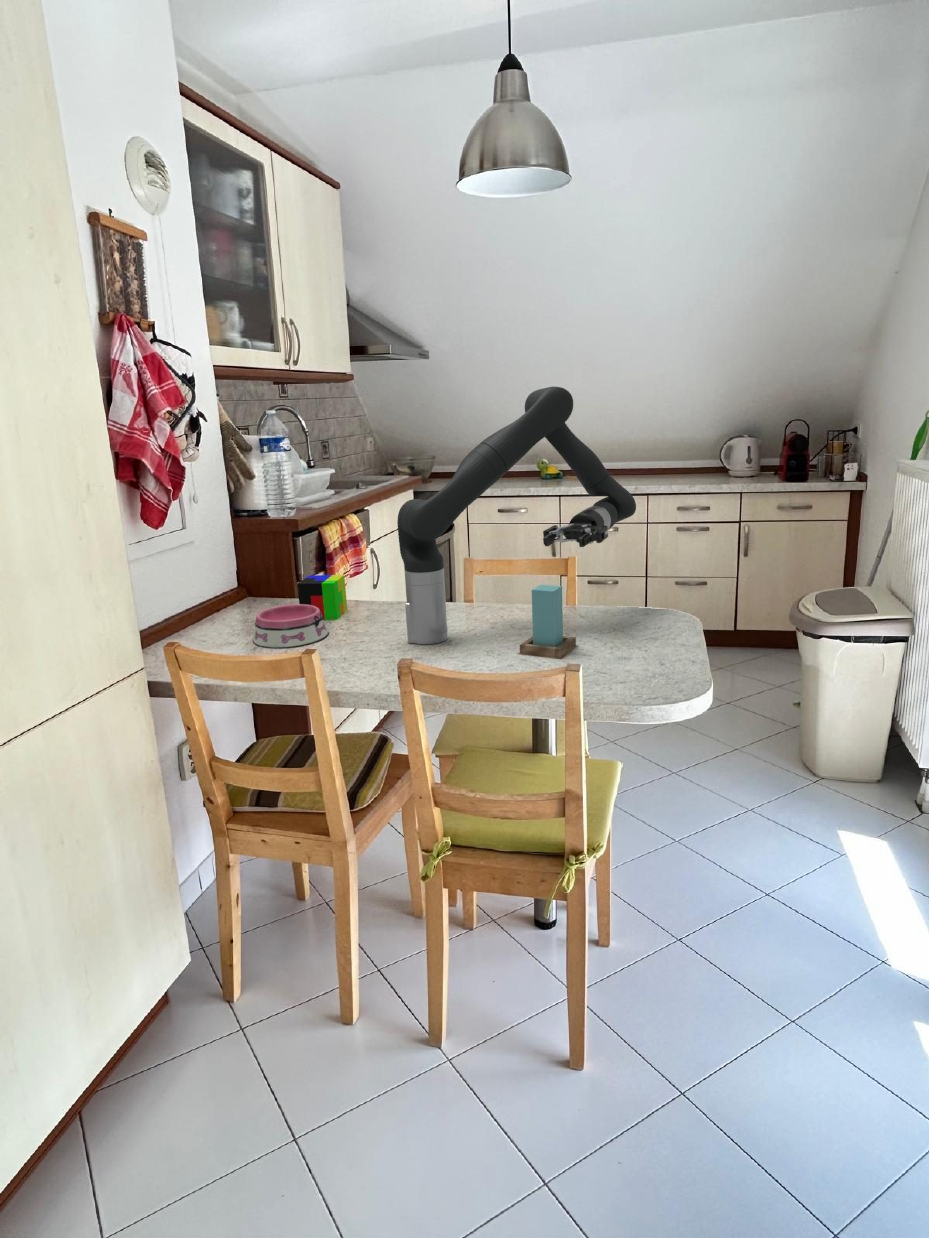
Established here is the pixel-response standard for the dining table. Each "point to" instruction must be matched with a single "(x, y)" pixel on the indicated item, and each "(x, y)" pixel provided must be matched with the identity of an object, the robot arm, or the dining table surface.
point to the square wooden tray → (548, 648)
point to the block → (547, 615)
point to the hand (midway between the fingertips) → (563, 542)
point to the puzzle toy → (324, 594)
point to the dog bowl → (289, 627)
